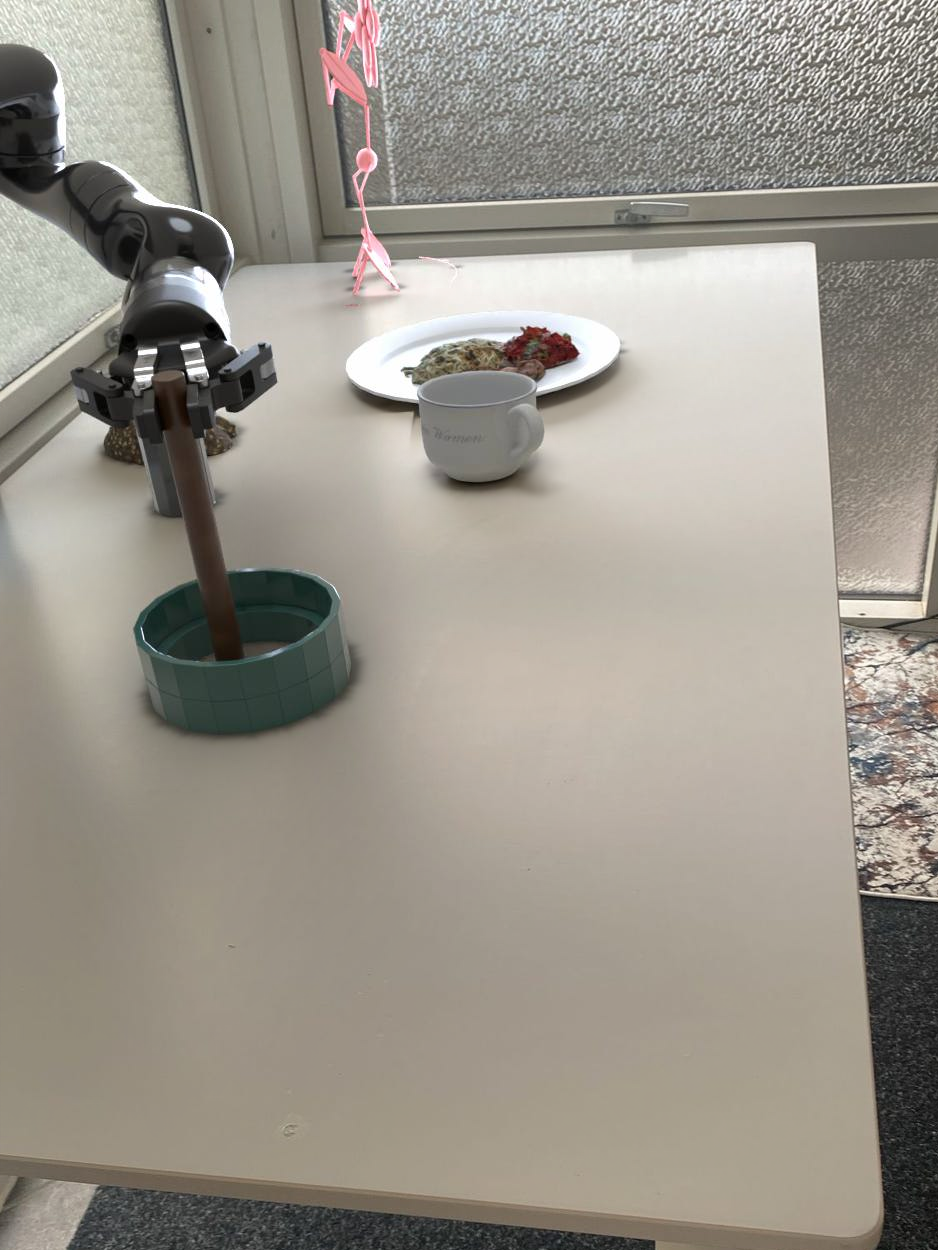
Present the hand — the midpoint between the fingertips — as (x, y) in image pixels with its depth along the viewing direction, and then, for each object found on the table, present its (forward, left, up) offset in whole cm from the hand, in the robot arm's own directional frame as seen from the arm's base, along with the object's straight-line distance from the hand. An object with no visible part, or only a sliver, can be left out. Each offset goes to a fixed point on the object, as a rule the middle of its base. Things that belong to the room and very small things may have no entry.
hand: (173, 425), depth 79 cm
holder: (-11, +38, -21) cm, 45 cm away
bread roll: (-15, +54, -21) cm, 60 cm away
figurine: (+5, +110, -21) cm, 112 cm away
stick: (-1, +3, -18) cm, 18 cm away
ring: (0, +5, -21) cm, 22 cm away
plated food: (+16, +71, -21) cm, 76 cm away
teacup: (+17, +41, -21) cm, 49 cm away
